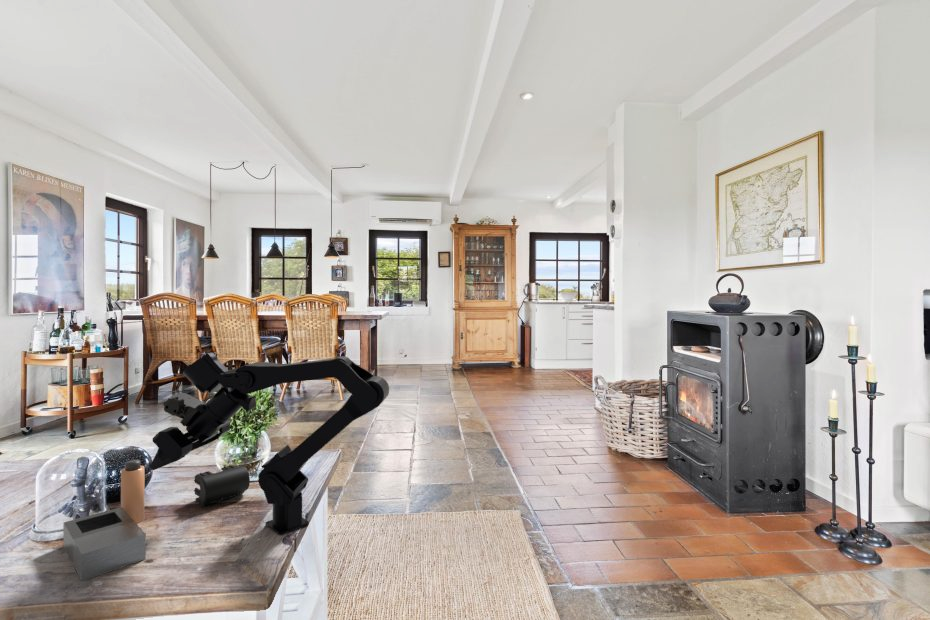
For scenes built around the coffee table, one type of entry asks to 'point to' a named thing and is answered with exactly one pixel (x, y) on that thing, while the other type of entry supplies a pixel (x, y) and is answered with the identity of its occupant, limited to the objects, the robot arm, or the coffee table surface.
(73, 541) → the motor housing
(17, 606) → the coffee table surface
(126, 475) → the plug
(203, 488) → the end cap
